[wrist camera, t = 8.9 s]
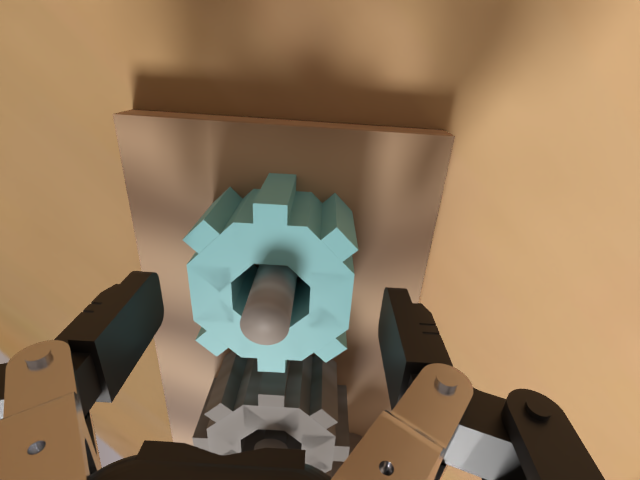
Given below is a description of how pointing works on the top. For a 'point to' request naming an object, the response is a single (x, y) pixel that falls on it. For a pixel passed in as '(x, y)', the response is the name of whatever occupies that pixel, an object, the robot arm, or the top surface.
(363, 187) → the peg board
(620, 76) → the top surface
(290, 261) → the teal cog
